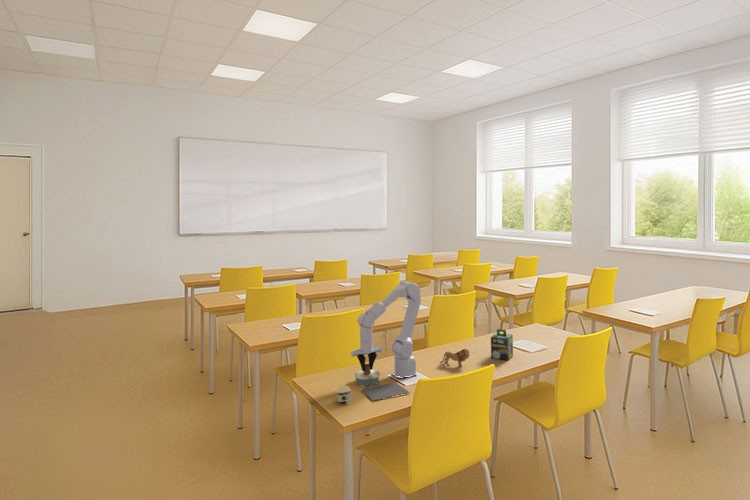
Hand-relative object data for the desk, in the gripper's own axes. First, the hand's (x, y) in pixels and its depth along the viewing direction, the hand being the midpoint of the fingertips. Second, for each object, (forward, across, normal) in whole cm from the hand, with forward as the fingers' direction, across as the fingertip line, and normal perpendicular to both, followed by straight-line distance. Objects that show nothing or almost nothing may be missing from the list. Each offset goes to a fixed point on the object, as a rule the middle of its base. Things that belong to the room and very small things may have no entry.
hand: (367, 369), depth 206 cm
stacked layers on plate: (+6, +17, +15) cm, 23 cm away
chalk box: (+6, -76, +1) cm, 76 cm away
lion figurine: (+6, -48, 0) cm, 48 cm away
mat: (+6, -2, +14) cm, 15 cm away
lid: (+3, 0, 0) cm, 3 cm away
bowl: (+6, 0, 0) cm, 6 cm away
